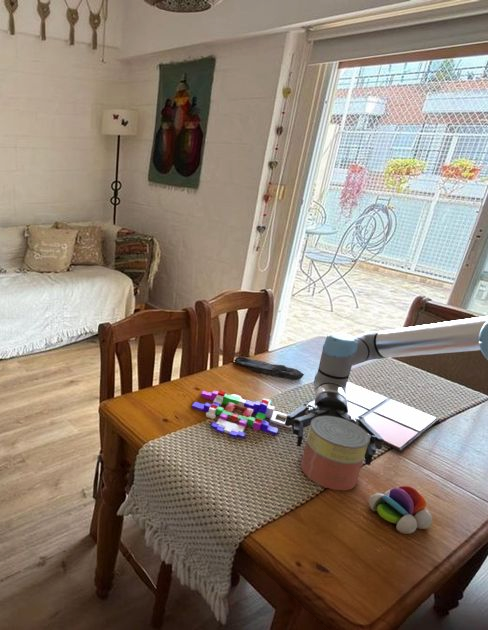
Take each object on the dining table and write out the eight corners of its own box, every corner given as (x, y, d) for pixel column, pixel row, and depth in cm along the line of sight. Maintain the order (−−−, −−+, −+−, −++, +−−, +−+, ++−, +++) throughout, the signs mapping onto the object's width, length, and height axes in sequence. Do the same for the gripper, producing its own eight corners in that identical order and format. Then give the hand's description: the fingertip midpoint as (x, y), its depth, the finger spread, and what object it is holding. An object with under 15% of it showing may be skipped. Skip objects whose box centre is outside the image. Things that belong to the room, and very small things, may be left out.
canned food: (360, 472, 101) (373, 428, 97) (351, 500, 93) (365, 454, 89) (307, 451, 108) (317, 409, 103) (294, 475, 100) (304, 432, 96)
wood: (228, 367, 148) (229, 359, 147) (234, 358, 154) (235, 351, 153) (300, 386, 137) (302, 378, 136) (304, 376, 142) (305, 368, 141)
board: (438, 421, 120) (439, 418, 119) (399, 453, 107) (401, 449, 107) (346, 384, 138) (347, 380, 138) (304, 407, 126) (305, 404, 125)
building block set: (182, 420, 120) (184, 406, 118) (206, 388, 135) (208, 375, 134) (281, 455, 106) (284, 440, 105) (295, 415, 122) (298, 401, 121)
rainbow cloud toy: (436, 529, 86) (448, 500, 83) (398, 541, 84) (409, 511, 81) (395, 498, 94) (404, 470, 91) (359, 508, 91) (368, 480, 88)
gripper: (383, 429, 112) (396, 482, 94) (276, 404, 123) (270, 447, 105) (391, 404, 109) (405, 453, 92) (281, 380, 120) (276, 421, 102)
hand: (333, 450), depth 98 cm, fingers open, 13 cm apart
